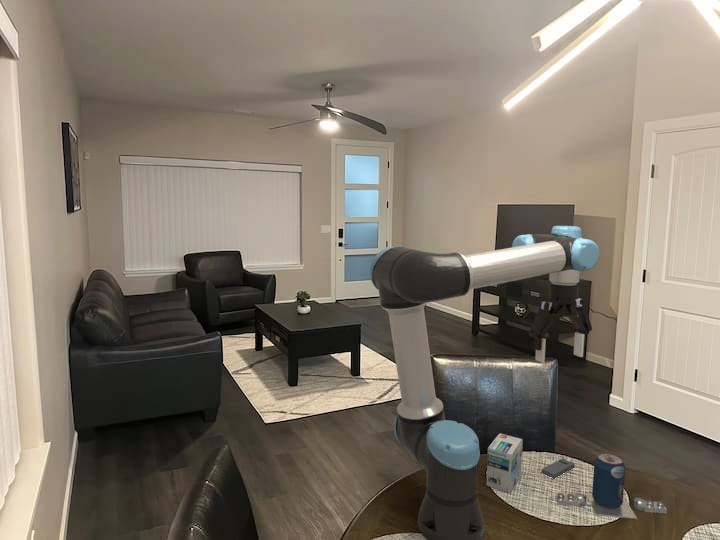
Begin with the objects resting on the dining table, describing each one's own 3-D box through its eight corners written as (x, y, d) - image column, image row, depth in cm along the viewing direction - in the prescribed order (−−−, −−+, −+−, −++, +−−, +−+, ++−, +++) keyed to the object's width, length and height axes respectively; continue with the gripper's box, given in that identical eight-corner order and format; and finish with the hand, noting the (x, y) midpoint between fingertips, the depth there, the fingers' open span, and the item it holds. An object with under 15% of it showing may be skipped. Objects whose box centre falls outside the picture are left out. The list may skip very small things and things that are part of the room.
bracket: (541, 475, 141) (541, 468, 141) (562, 463, 147) (562, 457, 147) (553, 481, 138) (554, 474, 138) (574, 469, 144) (575, 462, 144)
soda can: (626, 512, 123) (630, 466, 121) (596, 509, 124) (599, 463, 122) (617, 496, 130) (620, 452, 128) (588, 493, 131) (591, 449, 129)
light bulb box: (510, 494, 131) (512, 454, 130) (485, 486, 135) (486, 447, 133) (521, 475, 140) (523, 438, 139) (497, 468, 144) (499, 432, 142)
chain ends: (561, 512, 123) (562, 504, 123) (553, 491, 132) (553, 483, 132) (672, 521, 120) (673, 513, 120) (655, 499, 129) (656, 491, 129)
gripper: (587, 278, 146) (583, 349, 149) (517, 283, 137) (513, 359, 140) (609, 282, 139) (604, 357, 142) (536, 287, 130) (532, 367, 133)
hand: (559, 358), depth 141 cm, fingers open, 13 cm apart
